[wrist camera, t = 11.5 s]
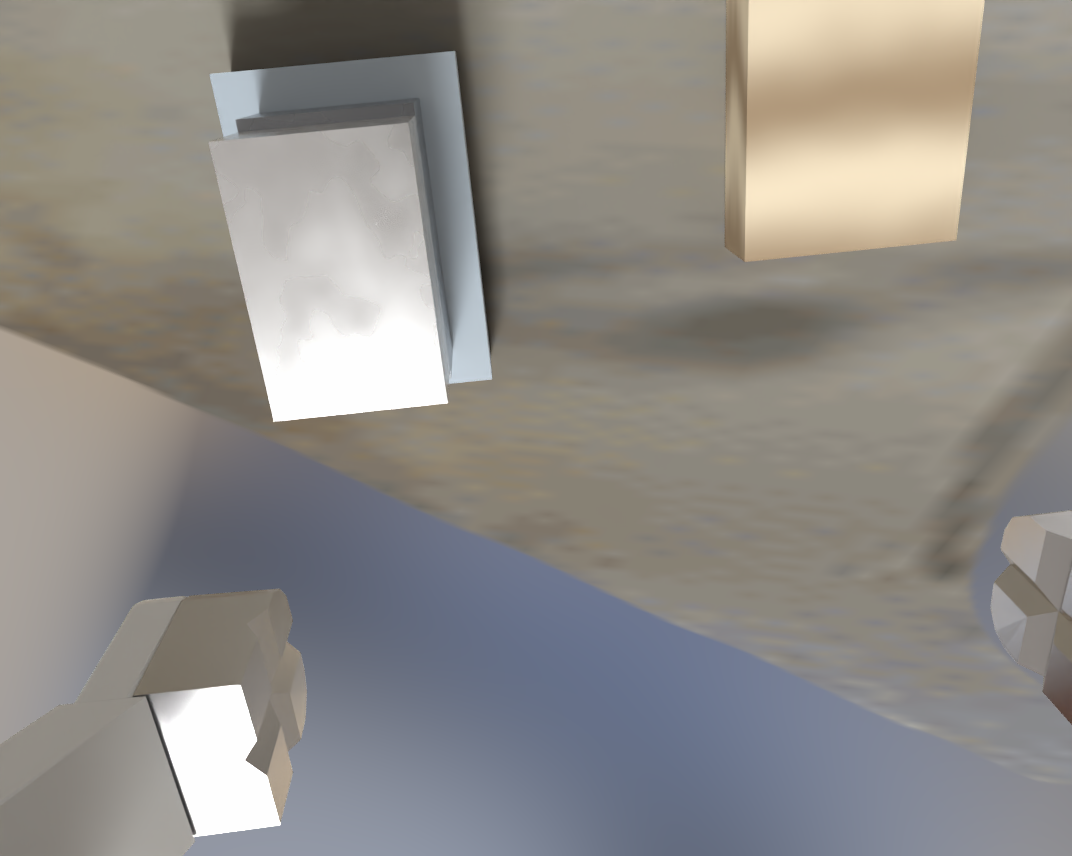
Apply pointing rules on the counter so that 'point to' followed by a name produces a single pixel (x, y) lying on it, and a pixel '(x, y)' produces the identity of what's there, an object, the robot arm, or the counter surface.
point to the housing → (339, 256)
